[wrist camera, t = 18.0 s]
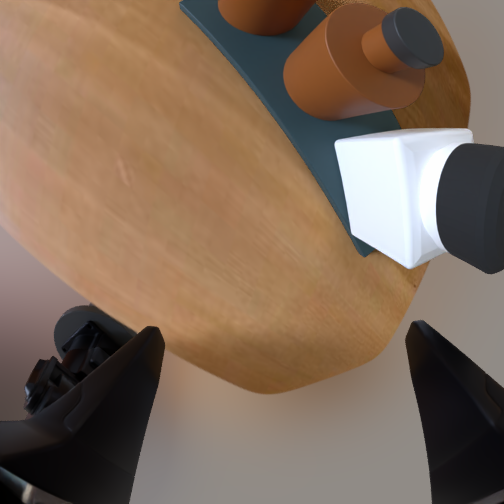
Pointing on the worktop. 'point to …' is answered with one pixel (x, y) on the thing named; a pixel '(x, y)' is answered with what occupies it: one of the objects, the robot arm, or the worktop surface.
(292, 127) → the tray
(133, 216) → the worktop surface
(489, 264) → the medicine bottle
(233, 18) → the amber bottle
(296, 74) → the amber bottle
